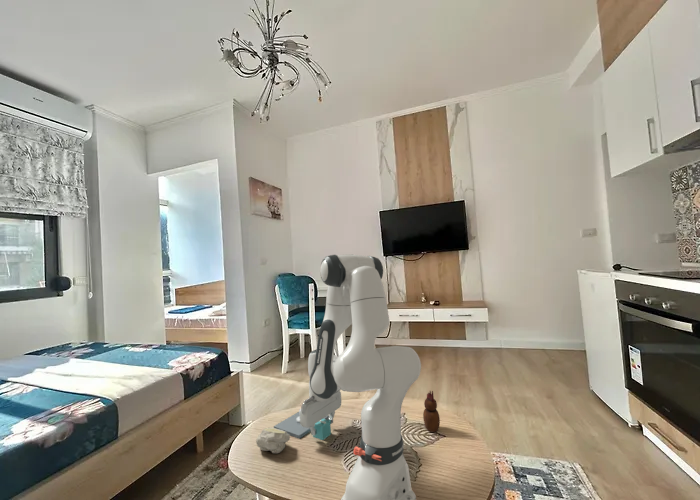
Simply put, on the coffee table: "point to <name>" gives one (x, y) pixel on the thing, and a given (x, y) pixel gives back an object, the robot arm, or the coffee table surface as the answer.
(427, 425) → the wooden figurine
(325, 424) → the teal slotted cube
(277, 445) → the fossil replica
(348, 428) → the coffee table surface
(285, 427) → the toggle switch board
